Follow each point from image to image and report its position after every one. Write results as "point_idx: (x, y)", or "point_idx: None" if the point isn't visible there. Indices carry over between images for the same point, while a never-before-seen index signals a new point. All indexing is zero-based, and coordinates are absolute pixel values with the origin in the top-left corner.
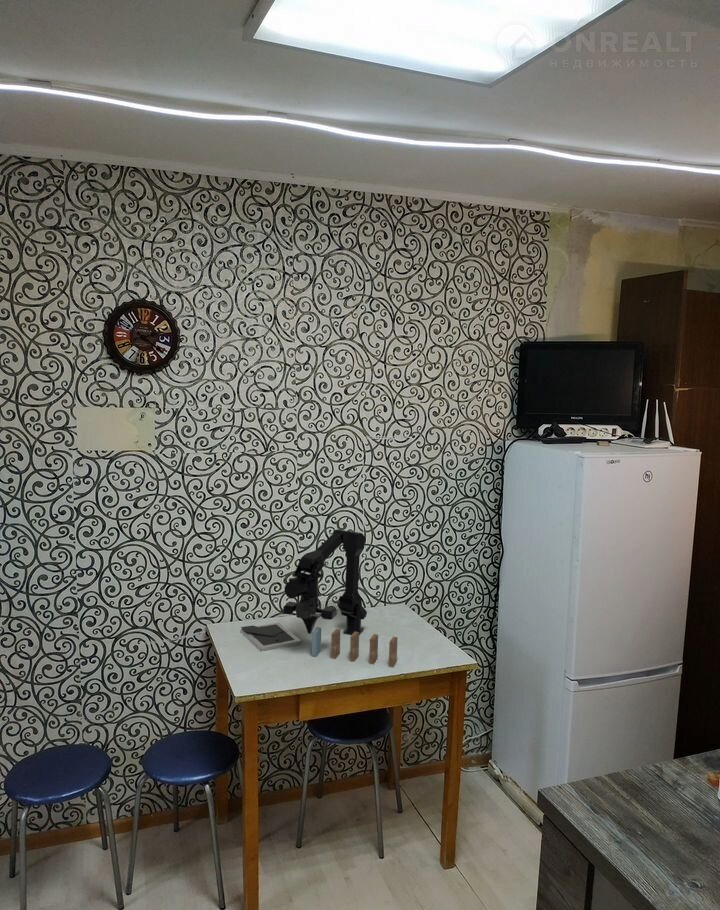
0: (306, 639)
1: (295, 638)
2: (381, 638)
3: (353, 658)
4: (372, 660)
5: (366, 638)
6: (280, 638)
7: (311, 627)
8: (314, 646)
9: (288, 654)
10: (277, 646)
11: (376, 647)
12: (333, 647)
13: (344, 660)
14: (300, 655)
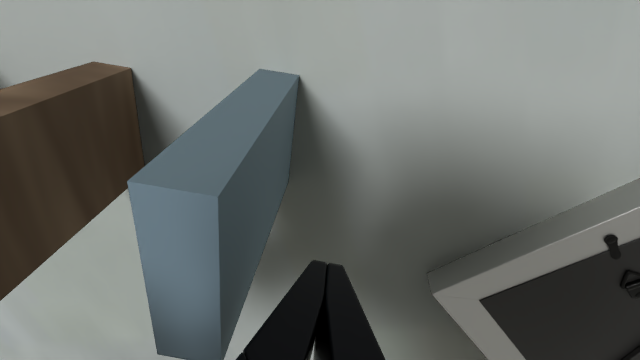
0: (397, 330)
1: (476, 318)
2: (24, 356)
3: None
4: None
5: (87, 353)
6: (600, 310)
7: (264, 330)
8: (248, 101)
9: (522, 82)
10: (636, 196)
11: None
12: (28, 91)
13: (14, 46)
14: (404, 80)
